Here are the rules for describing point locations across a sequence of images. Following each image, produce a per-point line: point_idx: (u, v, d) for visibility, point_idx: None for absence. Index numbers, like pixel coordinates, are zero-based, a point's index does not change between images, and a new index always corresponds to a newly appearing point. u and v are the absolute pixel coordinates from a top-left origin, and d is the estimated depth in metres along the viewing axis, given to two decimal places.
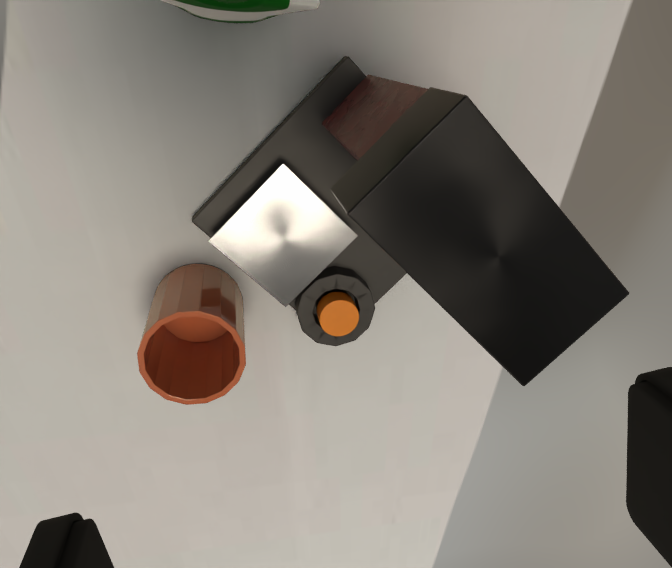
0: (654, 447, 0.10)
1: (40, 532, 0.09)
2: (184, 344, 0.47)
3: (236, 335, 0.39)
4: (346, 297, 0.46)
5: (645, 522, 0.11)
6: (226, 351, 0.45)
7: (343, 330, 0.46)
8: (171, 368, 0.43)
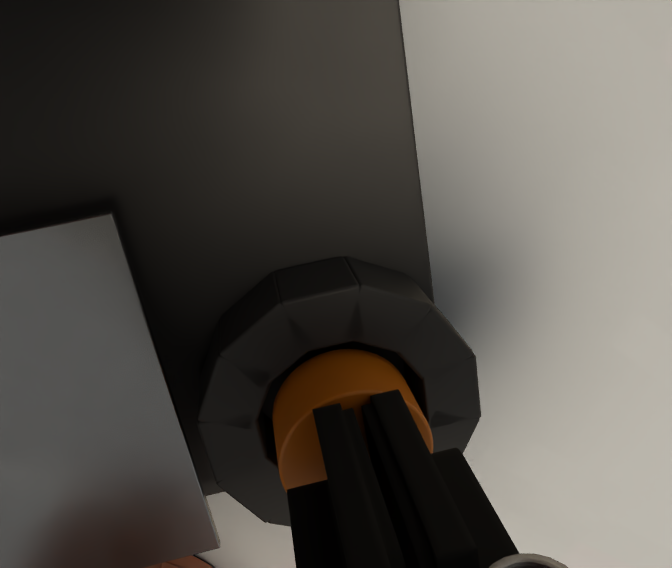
0: (375, 464, 0.11)
1: (319, 415, 0.10)
2: None
3: None
4: (313, 383, 0.12)
5: None
6: None
7: None
8: None
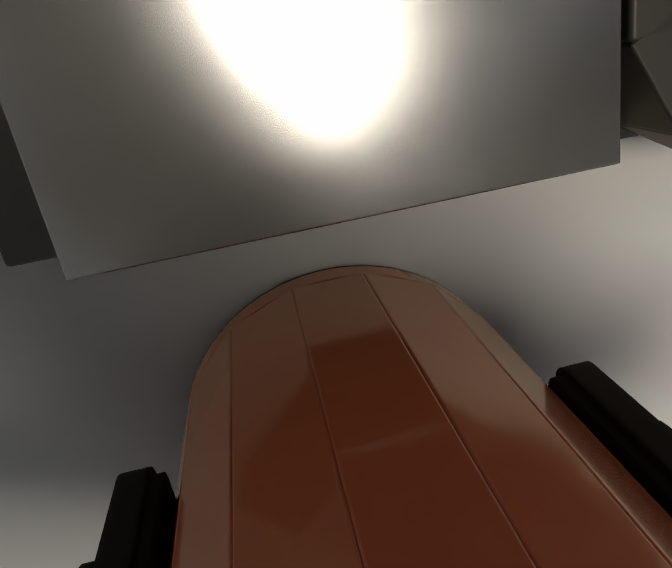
0: None
1: (121, 482, 0.10)
2: None
3: None
4: None
5: None
6: None
7: None
8: None
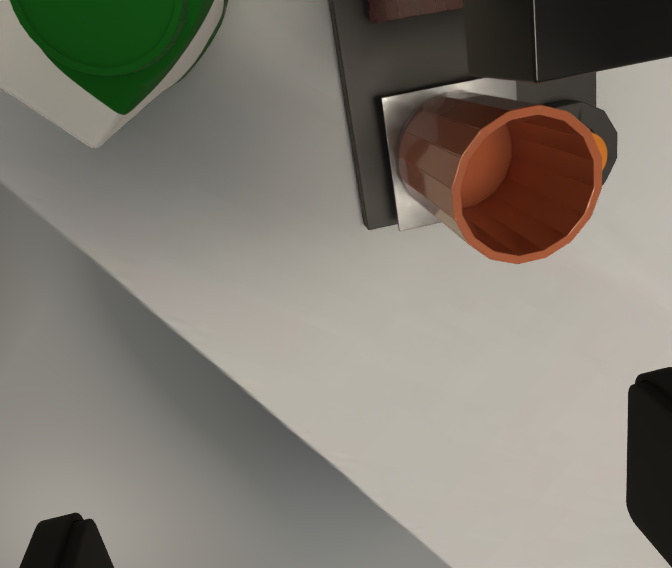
0: (654, 447, 0.10)
1: (40, 532, 0.09)
2: (488, 203, 0.34)
3: (547, 109, 0.25)
4: None
5: (645, 521, 0.11)
6: (540, 157, 0.31)
7: None
8: (509, 230, 0.30)
